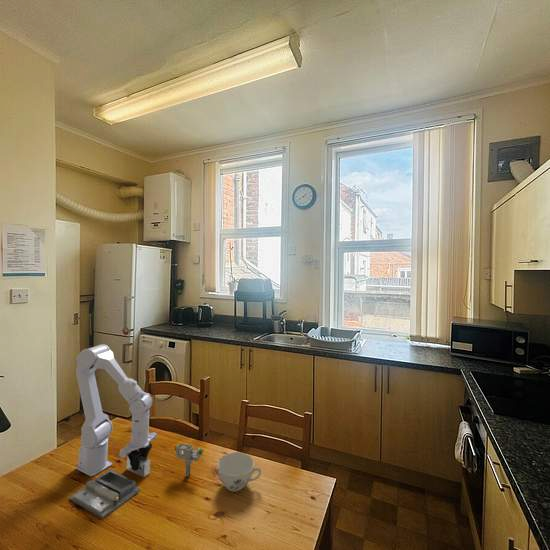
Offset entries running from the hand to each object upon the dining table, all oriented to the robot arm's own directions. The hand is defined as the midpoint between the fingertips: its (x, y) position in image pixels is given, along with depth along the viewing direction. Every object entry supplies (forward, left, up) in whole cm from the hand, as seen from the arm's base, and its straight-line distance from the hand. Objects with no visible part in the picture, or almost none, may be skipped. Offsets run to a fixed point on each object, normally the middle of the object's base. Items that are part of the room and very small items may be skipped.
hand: (138, 467), depth 106 cm
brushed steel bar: (0, 0, -2) cm, 2 cm away
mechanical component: (+17, +7, -2) cm, 18 cm away
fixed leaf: (+1, -13, -1) cm, 13 cm away
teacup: (+36, +11, -2) cm, 38 cm away
